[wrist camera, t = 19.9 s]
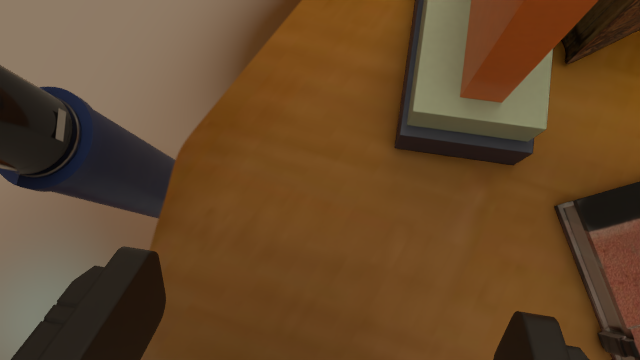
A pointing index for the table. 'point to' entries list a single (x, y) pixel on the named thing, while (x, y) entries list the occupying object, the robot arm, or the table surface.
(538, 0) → the orange box
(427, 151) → the box stack
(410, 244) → the table surface
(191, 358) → the table surface
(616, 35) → the book
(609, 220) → the book
